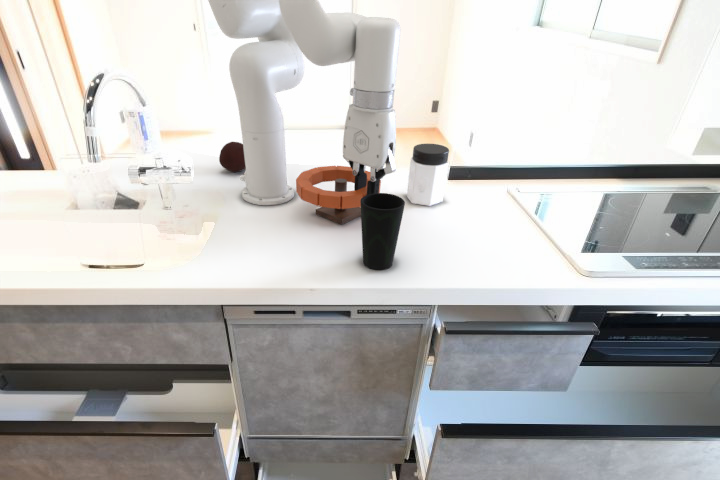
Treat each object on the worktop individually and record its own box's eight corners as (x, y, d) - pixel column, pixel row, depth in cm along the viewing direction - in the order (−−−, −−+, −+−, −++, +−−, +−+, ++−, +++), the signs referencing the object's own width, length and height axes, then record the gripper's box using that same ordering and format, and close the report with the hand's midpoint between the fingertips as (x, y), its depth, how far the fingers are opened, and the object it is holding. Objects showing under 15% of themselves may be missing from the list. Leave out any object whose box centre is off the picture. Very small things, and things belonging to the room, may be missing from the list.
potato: (259, 171, 123) (256, 142, 119) (230, 179, 118) (226, 148, 113) (242, 164, 128) (239, 135, 123) (214, 171, 123) (209, 142, 118)
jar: (402, 202, 107) (407, 150, 100) (410, 191, 113) (416, 141, 106) (439, 208, 105) (447, 155, 97) (445, 196, 111) (454, 146, 103)
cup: (395, 275, 80) (402, 211, 73) (354, 270, 81) (357, 207, 74) (399, 255, 86) (406, 194, 79) (361, 251, 87) (364, 191, 80)
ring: (280, 191, 97) (279, 179, 96) (335, 171, 108) (335, 160, 106) (342, 216, 88) (342, 203, 87) (395, 191, 99) (396, 180, 98)
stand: (315, 214, 101) (314, 180, 96) (338, 204, 106) (339, 171, 101) (342, 224, 97) (342, 189, 92) (365, 213, 102) (366, 180, 97)
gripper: (327, 94, 84) (325, 190, 96) (396, 110, 76) (386, 212, 87) (352, 89, 88) (348, 181, 100) (421, 104, 80) (407, 202, 92)
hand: (366, 195), depth 94 cm, fingers closed on ring, 2 cm apart
